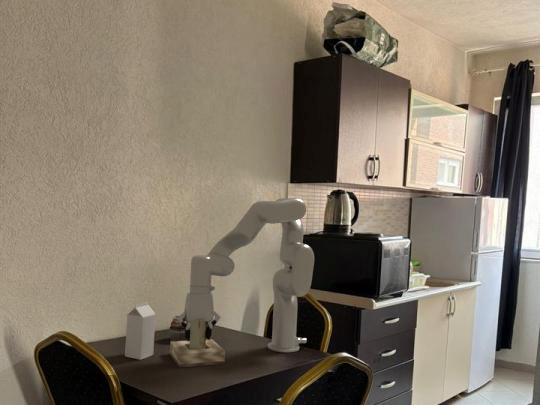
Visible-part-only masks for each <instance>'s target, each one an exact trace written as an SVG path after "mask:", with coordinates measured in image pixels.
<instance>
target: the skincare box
mask: <svg viewBox="0 0 540 405" xmlns="http://www.w3.org/2000/svg"><path fill="white" fill-rule="evenodd" d="M207 326H208V325H207V322H204V320H195V321H194V322H191V326H190V344H189V350H195V349H206V340H207V338H206V328H207Z"/></svg>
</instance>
